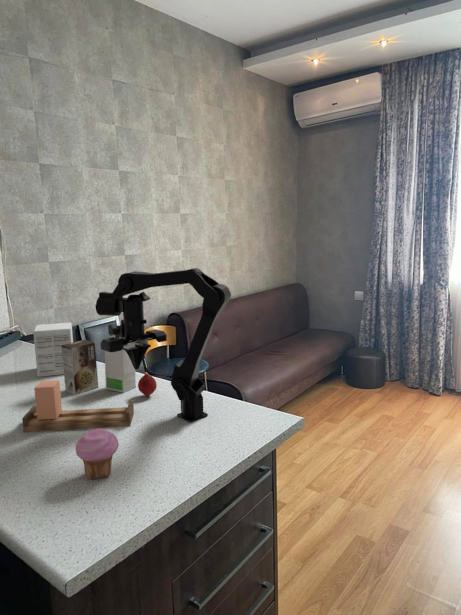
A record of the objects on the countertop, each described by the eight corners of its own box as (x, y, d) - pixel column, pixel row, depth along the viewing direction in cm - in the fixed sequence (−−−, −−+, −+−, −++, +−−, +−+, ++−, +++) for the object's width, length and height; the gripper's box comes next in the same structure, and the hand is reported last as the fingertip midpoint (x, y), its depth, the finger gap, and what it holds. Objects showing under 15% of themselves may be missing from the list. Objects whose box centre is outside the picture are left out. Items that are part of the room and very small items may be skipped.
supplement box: (40, 367, 179) (36, 324, 177) (75, 364, 183) (71, 321, 180) (36, 377, 167) (32, 331, 164) (74, 373, 171) (70, 328, 168)
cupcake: (76, 487, 93) (73, 442, 92) (79, 467, 101) (75, 425, 100) (120, 481, 95) (118, 436, 94) (119, 461, 104) (116, 420, 102)
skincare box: (105, 389, 152) (102, 344, 150) (118, 383, 158) (116, 340, 155) (124, 393, 148) (121, 347, 146) (137, 387, 154) (135, 342, 152)
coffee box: (88, 383, 158) (84, 339, 156) (99, 387, 154) (95, 341, 152) (64, 391, 151) (60, 344, 149) (75, 395, 147) (71, 347, 145)
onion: (158, 393, 148) (157, 369, 146) (154, 399, 142) (153, 375, 141) (141, 392, 148) (140, 369, 147) (136, 399, 143) (134, 375, 141)
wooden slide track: (133, 413, 132) (133, 400, 131) (130, 426, 123) (129, 412, 122) (34, 418, 129) (33, 405, 128) (23, 432, 120) (22, 418, 120)
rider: (62, 413, 128) (59, 380, 126) (56, 421, 122) (53, 386, 121) (44, 414, 127) (40, 381, 126) (37, 422, 122) (34, 387, 120)
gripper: (145, 309, 140) (148, 357, 143) (89, 317, 127) (93, 370, 130) (166, 313, 132) (168, 364, 135) (109, 322, 119) (112, 379, 122)
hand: (136, 369), depth 130 cm, fingers closed
